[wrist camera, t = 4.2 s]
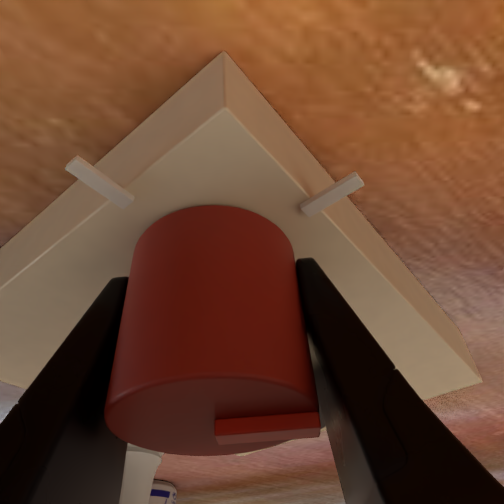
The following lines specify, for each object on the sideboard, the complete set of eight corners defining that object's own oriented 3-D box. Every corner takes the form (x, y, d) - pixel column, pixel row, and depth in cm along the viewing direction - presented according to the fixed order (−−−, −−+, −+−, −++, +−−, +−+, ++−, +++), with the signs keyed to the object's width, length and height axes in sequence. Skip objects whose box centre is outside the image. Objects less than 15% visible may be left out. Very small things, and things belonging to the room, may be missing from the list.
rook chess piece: (91, 398, 22) (49, 594, 17) (176, 400, 23) (163, 587, 17) (98, 428, 25) (66, 600, 20) (173, 429, 26) (161, 594, 20)
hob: (-84, 277, 14) (-128, 347, 12) (229, -36, 8) (231, 14, 6) (239, 411, 24) (241, 459, 23) (484, 320, 18) (513, 377, 16)
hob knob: (155, 313, 12) (135, 478, 9) (111, 211, 9) (61, 408, 6) (293, 302, 12) (317, 463, 9) (294, 195, 9) (331, 385, 6)
